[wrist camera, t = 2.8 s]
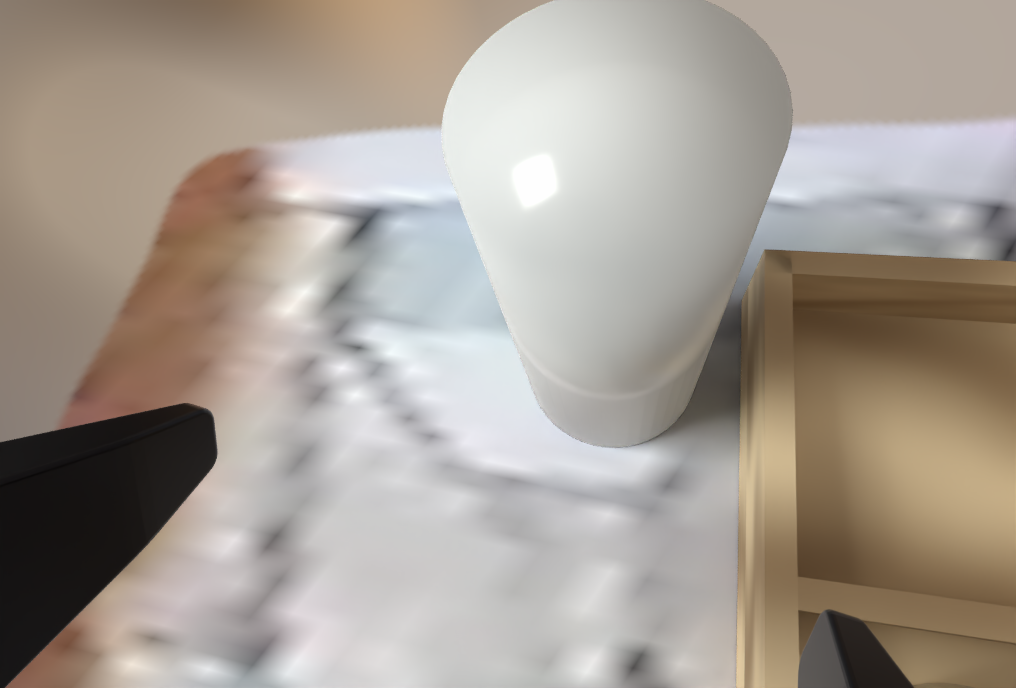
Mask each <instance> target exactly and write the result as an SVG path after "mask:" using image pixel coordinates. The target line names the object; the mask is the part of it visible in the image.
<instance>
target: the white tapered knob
mask: <svg viewBox="0 0 1016 688" xmlns="http://www.w3.org/2000/svg"><path fill="white" fill-rule="evenodd" d="M792 114H793V109H792V100H791V92H790V88H789V85H788V82H787V78H786V75H785V73H784V71H783V69H782V67H781V65H780V63H779V61H778V59H777V57H776V56H775V54H774V53H773V52H772V50H771V49H770V47H769V46H768V45H767V43H766V42H765V41H764V40H763V39H762V38H761V37H760V36H759V35H758V34H757V33H756V32H755V31H754V30H753V29H752V28H750V27H749V26H748V25H747V24H746V23H744V22H743V21H742V20H741V19H739V18H738V17H736V16H735V15H733V14H731V13H730V12H728V11H726V10H724V9H723V8H721V7H719V6H716V5H714V4H712V3H710V2H708V1H705V0H554V1H551V2H548V3H546V4H543V5H541V6H539V7H537V8H535V9H533V10H531V11H529V12H526V13H524V14H523V15H521V16H519V17H518V18H516V19H514V20H513V21H511V22H510V23H508V24H506V25H505V26H504V27H503V28H501V29H500V30H499V31H497V32H496V33H495V34H493V35H492V36H491V37H490V38H489V39H488V40H487V41H486V42H485V43H484V44H483V45H482V46H480V47H479V48H478V49H477V51H476V52H475V53H474V54H473V56H472V57H471V58H470V59H469V60H468V61H467V63H466V64H465V66H464V67H463V69H462V70H461V72H460V74H459V75H458V77H457V78H456V80H455V83H454V85H453V87H452V89H451V91H450V93H449V96H448V99H447V102H446V106H445V109H444V114H443V121H442V149H443V155H444V161H445V164H446V167H447V170H448V173H449V175H450V178H451V181H452V184H453V186H454V189H455V191H456V194H457V196H458V199H459V202H460V204H461V207H462V209H463V212H464V214H465V217H466V220H467V222H468V225H469V227H470V230H471V233H472V235H473V238H474V240H475V243H476V245H477V248H478V251H479V253H480V256H481V258H482V261H483V264H484V266H485V269H486V271H487V274H488V276H489V279H490V282H491V284H492V287H493V289H494V292H495V294H496V297H497V300H498V302H499V305H500V307H501V310H502V313H503V315H504V318H505V320H506V323H507V325H508V328H509V331H510V333H511V336H512V338H513V341H514V344H515V346H516V349H517V351H518V354H519V356H520V359H521V362H522V364H523V367H524V369H525V372H526V374H527V377H528V380H529V382H530V385H531V387H532V390H533V393H534V395H535V398H536V400H537V402H538V404H539V406H540V408H541V409H542V411H543V412H544V413H545V415H546V416H547V417H548V418H549V420H550V421H551V422H552V423H553V424H554V425H555V426H557V427H558V428H559V429H560V430H561V431H563V432H564V433H566V434H568V435H569V436H571V437H573V438H575V439H577V440H579V441H581V442H584V443H587V444H591V445H595V446H601V447H614V448H617V447H627V446H632V445H637V444H640V443H643V442H646V441H648V440H651V439H652V438H654V437H656V436H658V435H660V434H661V433H663V432H664V431H666V430H667V429H668V428H669V427H670V426H672V425H673V424H674V423H675V422H676V421H677V420H678V418H679V417H680V416H681V415H682V413H683V412H684V410H685V409H686V407H687V405H688V404H689V401H690V399H691V397H692V394H693V392H694V389H695V386H696V384H697V381H698V379H699V376H700V374H701V371H702V368H703V366H704V363H705V361H706V358H707V355H708V353H709V350H710V348H711V345H712V342H713V340H714V337H715V335H716V332H717V329H718V327H719V324H720V322H721V319H722V316H723V314H724V311H725V309H726V306H727V303H728V301H729V298H730V296H731V293H732V291H733V288H734V285H735V283H736V280H737V278H738V275H739V272H740V270H741V267H742V265H743V262H744V259H745V257H746V254H747V252H748V249H749V246H750V244H751V241H752V239H753V236H754V233H755V231H756V228H757V226H758V223H759V220H760V218H761V215H762V213H763V210H764V207H765V205H766V202H767V200H768V197H769V195H770V192H771V189H772V187H773V184H774V182H775V179H776V176H777V174H778V171H779V169H780V166H781V163H782V161H783V158H784V156H785V153H786V150H787V147H788V143H789V139H790V135H791V130H792V116H793V115H792Z"/></svg>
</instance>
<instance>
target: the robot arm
mask: <svg viewBox="0 0 1016 688" xmlns="http://www.w3.org/2000/svg"><path fill="white" fill-rule="evenodd" d="M216 459H217V442H216V433H215V423H214V417H213V415H212V413H211V411H209V410H208V409H206V408H203V407H200V406H196V405H193V404H189V403H182V404H177V405H173V406H168V407H163V408H159V409H154V410H149V411H145V412H140V413H135V414H131V415H126V416H121V417H117V418H112V419H107V420H102V421H98V422H93V423H88V424H84V425H79V426H74V427H70V428H65V429H60V430H56V431H51V432H46V433H42V434H37V435H33V436H28V437H23V438H19V439H14V440H9V441H4V442H0V688H5V687H6V686H7V685H8V684H9V683H10V682H11V681H12V680H13V679H14V678H15V677H16V676H17V675H18V674H19V673H20V672H21V671H22V670H23V669H24V668H25V667H26V666H27V665H28V664H29V663H30V662H31V661H32V660H33V659H34V658H35V657H36V656H37V655H38V654H39V653H40V652H41V651H42V650H43V649H44V648H45V647H46V646H47V645H48V644H49V643H50V642H51V641H52V640H53V639H54V638H55V637H56V636H57V635H58V634H59V633H60V632H61V631H62V630H63V629H64V628H65V627H66V626H67V625H68V624H69V623H70V622H71V621H72V620H73V619H74V618H75V617H76V616H77V615H78V614H79V613H80V612H81V611H82V610H83V609H84V608H85V607H86V606H87V605H88V604H89V603H90V602H91V601H92V600H93V599H94V598H95V597H96V596H97V595H98V594H99V593H100V592H101V591H102V590H103V589H104V588H105V587H106V586H107V585H108V584H109V583H110V582H111V581H112V580H113V579H114V578H115V577H116V576H117V575H118V574H119V573H120V572H121V571H122V570H123V569H124V568H125V567H126V566H127V565H128V564H129V563H130V562H131V561H132V560H133V559H134V558H135V557H136V556H137V555H138V554H139V553H140V552H141V551H142V550H143V549H144V548H145V547H146V546H147V545H148V544H149V543H150V541H151V540H152V539H153V538H154V537H155V536H156V535H157V533H158V532H159V531H160V530H161V529H162V528H163V526H164V525H165V524H166V523H167V522H168V520H169V519H170V518H171V517H172V516H173V514H174V513H175V512H176V511H177V510H178V508H179V507H180V506H181V505H182V504H183V502H184V501H185V500H186V499H187V498H188V496H189V495H190V494H191V493H192V492H193V491H194V489H195V488H196V487H197V486H198V485H199V483H200V482H201V481H202V480H203V479H204V477H205V476H206V475H207V474H208V473H209V471H210V470H211V469H212V467H213V466H214V464H215V462H216ZM798 688H914V686H913V685H912V684H911V682H910V681H909V680H908V678H907V677H906V676H905V674H904V673H903V672H902V671H901V669H900V668H899V667H898V665H897V664H896V663H895V661H894V660H893V659H892V657H891V656H890V655H889V653H888V652H887V651H886V650H885V648H884V647H883V646H882V644H881V643H880V642H879V640H878V639H877V638H876V636H875V635H874V634H873V632H872V631H871V630H870V629H869V627H868V626H867V625H866V624H865V623H864V622H863V621H862V620H861V619H859V618H857V617H854V616H851V615H848V614H844V613H841V612H838V611H835V610H832V609H827V610H824V611H823V612H822V613H821V614H820V616H819V618H818V620H817V622H816V624H815V626H814V628H813V631H812V633H811V635H810V637H809V639H808V641H807V644H806V646H805V648H804V650H803V652H802V655H801V658H800V663H799V669H798Z"/></svg>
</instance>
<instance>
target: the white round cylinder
mask: <svg viewBox="0 0 1016 688" xmlns="http://www.w3.org/2000/svg"><path fill="white" fill-rule="evenodd" d="M914 688H974V687H969V686H965V685H961V684H951V683H925V684H919V685H914Z"/></svg>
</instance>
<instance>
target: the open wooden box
mask: <svg viewBox="0 0 1016 688" xmlns="http://www.w3.org/2000/svg"><path fill="white" fill-rule="evenodd" d="M827 609H832V610H835V611H838V612H841V613H844V614H848V615H851V616H854V617H857V618H859V619H861V620H862V621H863V622H864V623H865V624H866V625H867V626H868V627H869V629H870V630H871V631H872V632H873V634H874V635H875V636H876V638H877V639H878V640H879V642H880V643H881V644H882V646H883V647H884V648H885V650H886V651H887V652H888V653H889V655H890V656H891V657H892V659H893V660H894V661H895V663H896V664H897V665H898V667H899V668H900V669H901V671H902V672H903V673H904V674H905V676H906V677H907V678H908V680H909V681H910V682H911V684H912V685H913V686H914V685H919V684H925V683H951V684H961V685H965V686H969V687H974V688H1016V262H1015V261H994V260H973V259H952V258H931V257H911V256H890V255H869V254H848V253H827V252H806V251H785V250H764V252H763V254H762V257H761V259H760V261H759V263H758V265H757V268H756V270H755V272H754V274H753V277H752V279H751V281H750V283H749V285H748V288H747V290H746V292H745V294H744V297H743V299H742V311H741V382H740V454H739V525H738V596H737V667H736V688H798V669H799V663H800V658H801V655H802V652H803V650H804V648H805V646H806V644H807V641H808V639H809V637H810V635H811V633H812V631H813V628H814V626H815V624H816V622H817V620H818V618H819V616H820V614H821V613H822V612H823V611H824V610H827Z"/></svg>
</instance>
